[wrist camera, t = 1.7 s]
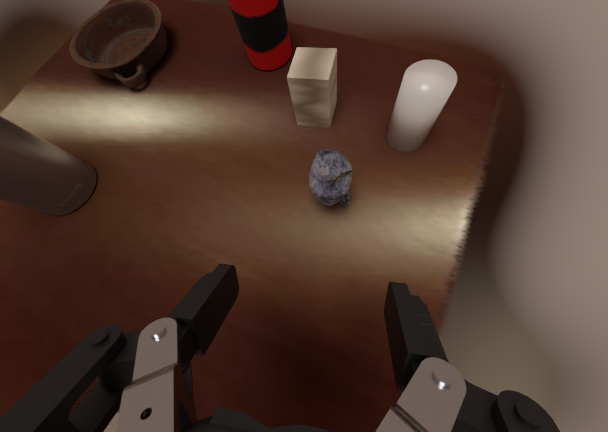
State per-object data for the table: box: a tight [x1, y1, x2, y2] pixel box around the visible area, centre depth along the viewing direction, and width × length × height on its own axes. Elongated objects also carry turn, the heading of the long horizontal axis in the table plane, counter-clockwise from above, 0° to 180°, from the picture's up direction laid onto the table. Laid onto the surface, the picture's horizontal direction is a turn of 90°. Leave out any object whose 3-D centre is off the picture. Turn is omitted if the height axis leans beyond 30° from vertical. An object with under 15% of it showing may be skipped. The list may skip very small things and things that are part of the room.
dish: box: [70, 0, 167, 88], centre depth 43 cm, size 18×22×5 cm
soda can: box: [228, 0, 292, 71], centre depth 35 cm, size 8×8×12 cm
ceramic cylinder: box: [386, 60, 457, 152], centre depth 27 cm, size 5×5×9 cm
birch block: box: [287, 47, 337, 128], centre depth 31 cm, size 5×5×8 cm
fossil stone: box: [309, 149, 353, 208], centre depth 25 cm, size 5×5×10 cm
